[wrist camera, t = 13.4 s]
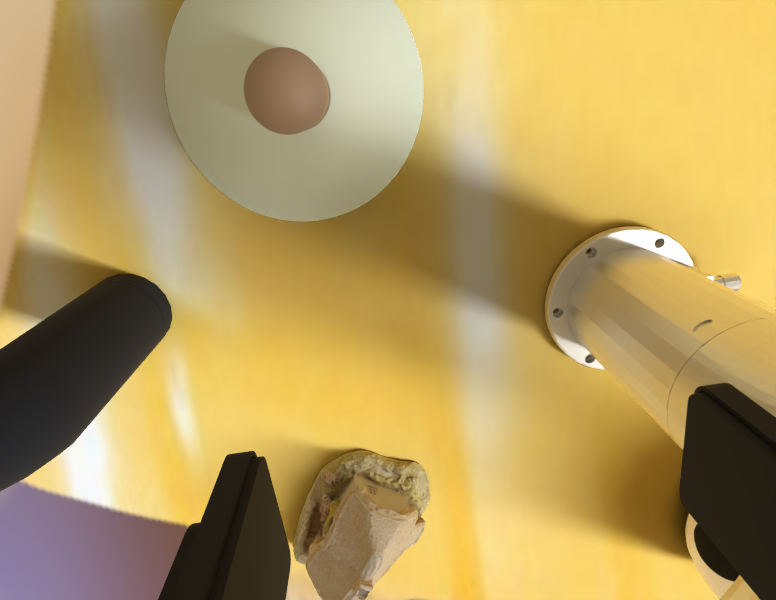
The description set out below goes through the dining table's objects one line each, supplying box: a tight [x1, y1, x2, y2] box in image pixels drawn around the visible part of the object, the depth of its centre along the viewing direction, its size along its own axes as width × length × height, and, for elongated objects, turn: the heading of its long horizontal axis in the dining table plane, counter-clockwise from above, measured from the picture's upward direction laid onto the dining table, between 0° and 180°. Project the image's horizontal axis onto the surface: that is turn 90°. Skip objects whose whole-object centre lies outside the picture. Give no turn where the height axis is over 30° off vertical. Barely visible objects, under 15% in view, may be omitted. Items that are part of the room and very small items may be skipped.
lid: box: [164, 0, 424, 222], centre depth 28 cm, size 15×15×6 cm
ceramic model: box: [293, 450, 430, 600], centre depth 45 cm, size 14×11×10 cm
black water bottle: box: [0, 274, 172, 491], centre depth 27 cm, size 6×6×30 cm
